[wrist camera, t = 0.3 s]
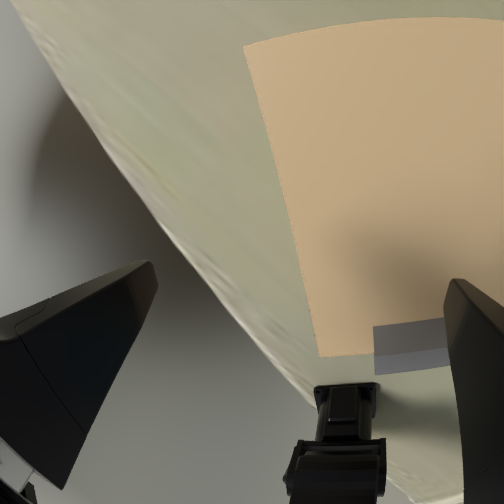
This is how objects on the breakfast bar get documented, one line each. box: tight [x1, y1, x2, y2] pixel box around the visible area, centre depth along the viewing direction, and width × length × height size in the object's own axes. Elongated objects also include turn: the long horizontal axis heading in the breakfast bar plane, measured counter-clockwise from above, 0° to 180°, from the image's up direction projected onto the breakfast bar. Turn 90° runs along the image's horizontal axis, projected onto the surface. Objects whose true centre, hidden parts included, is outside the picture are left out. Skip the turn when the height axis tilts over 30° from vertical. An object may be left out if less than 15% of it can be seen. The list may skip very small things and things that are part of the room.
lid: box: [243, 17, 504, 375], centre depth 13 cm, size 18×13×3 cm
